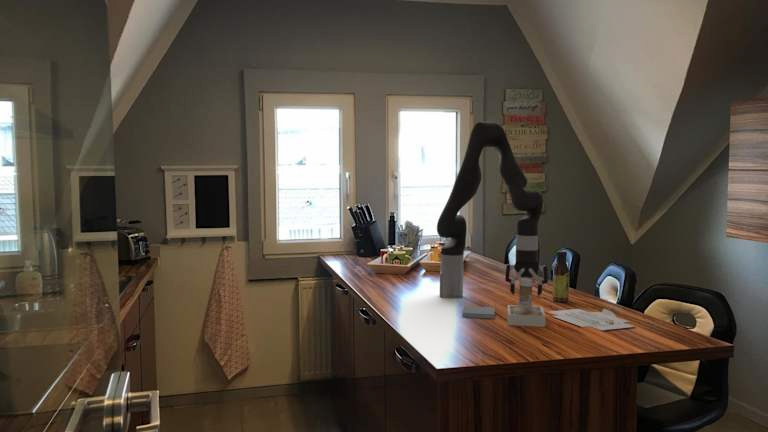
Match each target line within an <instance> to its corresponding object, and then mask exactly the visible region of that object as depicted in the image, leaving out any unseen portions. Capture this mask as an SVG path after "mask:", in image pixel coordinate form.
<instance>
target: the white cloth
mask: <svg viewBox="0 0 768 432" xmlns="http://www.w3.org/2000/svg"><path fill="white" fill-rule="evenodd" d="M548 313H549V314H551V318H556V319H558V320H562V321H565V322H568V323H570V324H573V325H576V326H579V327H581V328H582V327H585V328H591V327H593V328H592V329H594V328H596V329H595V330H597V329H599V330H598V331H600V330H602V331H601V332H604V331H608V330H618V329H628V328H635V327H636V326H634V325H631V324H629V323H624V322H630V323H631V321H629V320H626V319H623V318H619V317H617V316H616V314H615V313H614V312H613V311H612V310H609V309H608V308H607V309H606V307H604V308H603V309H602V311H601V312H600V311H587V310H584V309H581V308H574V309H573V308H572V309H562V310H553V311H552V310H551V311H548ZM606 322H607V323H606ZM609 323H614V324H613V325H612V324H609Z"/></svg>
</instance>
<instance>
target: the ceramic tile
mask: <svg viewBox="0 0 768 432" xmlns="http://www.w3.org/2000/svg"><path fill="white" fill-rule="evenodd" d="M495 309H496V308H495V307H494V306H493V307H492V306H473V305H472V306H471V305H463V309H462V318H477V319H495V311H496V310H495Z"/></svg>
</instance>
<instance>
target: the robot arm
mask: <svg viewBox="0 0 768 432" xmlns="http://www.w3.org/2000/svg"><path fill="white" fill-rule="evenodd" d="M505 131H506V130H505V129H504V128H503V126H502V125H501V124H500V123H498V122H495V121H478V122H476V123H475V124H474V125H473V127H472V129H471V132H470V135H469V138H468V143H467V145H466V150H465V153H464V157H463V159H462V162H461V165H460V168H459V170H458V172H457V175H456V177H455V180H454V183H453V187H452V189H451V192H450V194H449V197H448V199H447V202H446V204H445V205H444V208H443V210H442V212H441V213H440V215H439V217H438V220H437V223H436V232H437V235H439V237H440V238H443V239H446V238H447V239H450V240H449V241H448V243H446V244H444V245H443V246H441V248H440V273H439V297H443V298H449V299H452V298H453V299H455V298H456V299H457V298H462V297H463V296H464V257H465V255H464V253H465V248H466V244H467V243H466V242H467V241H466V240H467V222H466V221H467V220H466V219H465V217H464V216H463V215H462V214H458V213H459V212H460V210H461V209H462V208H463V207H464V206H466V204H468V203H469V202H470V201H471V200H472V199H473V198H474V196H475V195H476V193H477V191H478V189H479V186H480V184H481V181H482V171H481V168H480V167H481V166H480V158H481V154H482V151H483V149H484V148H493V149H494V150H495V151H496V152H497V154H498V158H499V172H500V176H501V178H502V179H503V181H504V183H505V184H506V187H507V188H508V192H509V196H510V200H511V204H512V206H513V207H514V208H515V209H516V210H517V211H520V212H525V214H524V216H523V217H521V218H519V219H518V220H517V222H516V237H515V263H514V264H510V263H507V264H506V266H505V267H506V268H505V278H504V279H505V280H504V281H505V282H507V283H509V287H510V289H509V291H510V293H511V294H512V296H513V295H515V289H516V288H515V287H516V286H515V285H516V284H515V282H516V281H517V280H518V279H519V278H523V279H526V278H528V279H531V278H534V280H535V281H536V282H537V294H536V295H537V296H541V295H542V294H543V285H544V284H548V281H549V280H548V277H549V275H548V267H547V265H546V264H544V265H539V263H538V262H539V238H538V237H539V236H538V231H539V226H538V224H539V222H540V221H539V220H540V218H541V214H542V211H543V206H544V199H543V196H542V194H541V193H540V192H539V191H538V190H534V189H533V190H525V189H524V188H526V186H527V185H528V179H527V177H526V175H525V173H524V172H523V170H522V168H521V166H520V165H519V163H518V162H517V160H516V157H515V155H514V153H513V150H512V147H511V145H510V141H509V140H508V137H507V134H506V132H505ZM513 269H514V270H515V272H516V273H515V274H514V276H513V277H512V278H510V272H512V270H513ZM539 270H540V271H541V272H542V273H543V279H541V278H540V277H539V275H538V274H537V273H538V271H539Z"/></svg>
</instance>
